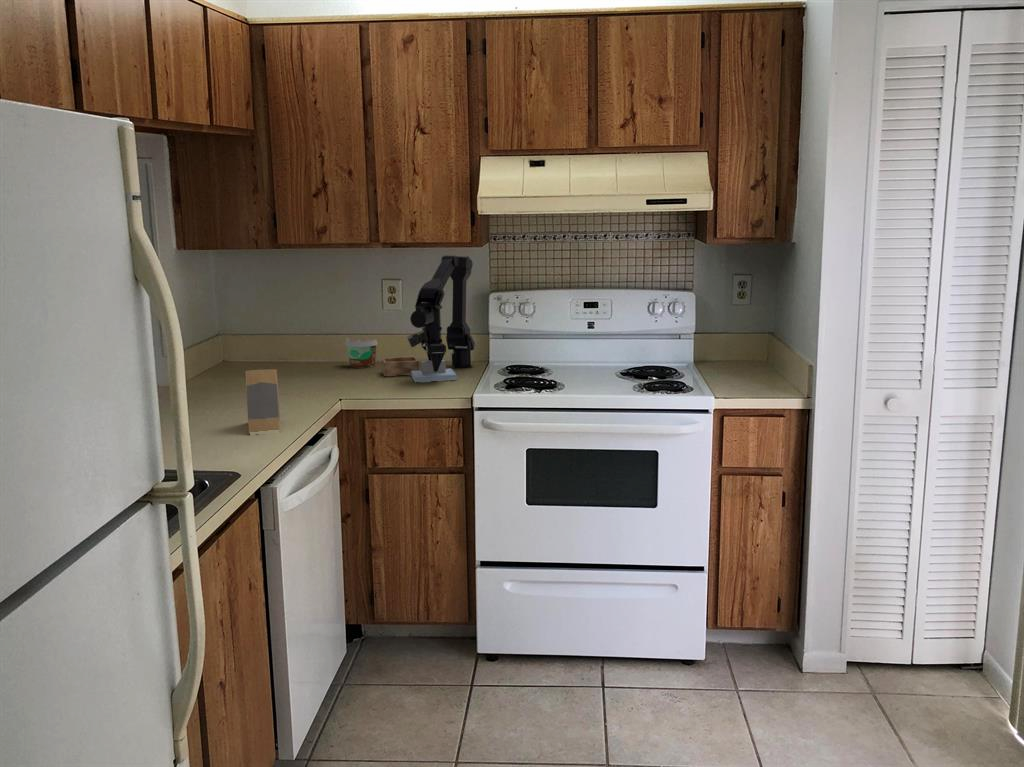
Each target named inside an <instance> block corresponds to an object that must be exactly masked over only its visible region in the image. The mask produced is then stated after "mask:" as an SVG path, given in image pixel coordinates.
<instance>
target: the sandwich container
mask: <svg viewBox="0 0 1024 767" xmlns="http://www.w3.org/2000/svg"><path fill="white" fill-rule="evenodd" d="M277 370H278V369H275V368H273V369H272V368H271V369H270V368H269V369H251V370H246V371H244V372H245V390H246V391H245V394H246V407H247V409H246V410H247V420H248V421H247V422H248V433H249V432H259V431H268V430H280V424H281V412H280V398H279V384H278V383H279V382H278V371H277ZM280 431H281V430H280Z"/></svg>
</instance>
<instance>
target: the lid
mask: <svg viewBox="0 0 1024 767" xmlns="http://www.w3.org/2000/svg"><path fill="white" fill-rule="evenodd" d="M420 369H421V370H420ZM420 369H419V370H417V371H411V375H410V377H411V376H412V377H411V379H412V378H413V379H412V380H413V381H415V382H414V383H415V384H417V383H416V382H421V383H432V382H431V381H437V382H444V381H443V380H454V381H457V380H458V378H457V377H458V376H457V372H455V371H454V370H453V369H452V368H446V360H445V359H442V361H441V364H440V366H439V369H438V371H437V372H434V369H433V364H432V361H429V360H421V361H420Z"/></svg>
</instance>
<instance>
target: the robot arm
mask: <svg viewBox="0 0 1024 767" xmlns="http://www.w3.org/2000/svg"><path fill="white" fill-rule="evenodd" d="M440 260H441V261H440V263H439V265H438V267H437V269H435V270H436V271H435V272H434V274H433V276H432V277H431V279H430V280H429V281H427V282H425V283H424V284H423V285H422V286H421V288H420V290H419V291H418V295H417V299H416V301H415V302H416V303H415V305H414V308H415V311H413V312H412V313H411V315H410V319H409V320H410V322H411V324H412V326H413V327H415V328H417V329H422V330H421V331H417V332H415V333H413V334H410V335H408V336H406V338H407V340H408V343H409V345H410V347H411V348H414V347H416V346H417V345H420V346H421V348H423V350H425V352H426V356H427V361H432V364H433V369H434V372H437V371H438V369H439V366H440V364H441V361H442V360H444V356H445V355H446V352H447V350H449V351H450V350H451V351H452V352H451V353H450V364H451V366H452V367H453V368H455V369H456V368H457V369H459V368H471V367H473V366H472V365H473V364H472V361H471V360H472V359H471V358H472V356H471V351H475V348H476V346H475V345H476V344H475V343H476V342H475V340H474V338H473V337H472V335H471V328H470V327H469V325H468V324H467V320H466V317H467V281H468V279H470V276H471V275H472V268H473V260H472V259H471V257H470V256H467V255H465V256H464V255H463V256H462V255H455V254H454V255H453V254H452V255H451V254H446V255H443V256H441V259H440ZM449 279H451V280H452V311H451V313H452V318H451V320H452V321H451V323H450V324H449V326H447V327H446V337H445V339H446V345H445V343H444V342H443V339H442V330H443V328H442V323H441V322H442V320H441V318H442V317H441V309H443V306H442V305H441V304H442V302H443V299H444V296H445V291H444V288H445V286H446V285H447V282H448V280H449Z"/></svg>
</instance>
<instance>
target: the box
mask: <svg viewBox="0 0 1024 767" xmlns="http://www.w3.org/2000/svg"><path fill="white" fill-rule="evenodd" d="M417 370H420V360H419V359H418V358H417V356H414V355H413V356H401V357H400V356H399V357H382V358H381V373H382V372H383V373H382V375H383V374H384V375H383V376H394V375H410V376H411V371H417ZM394 377H395V376H394Z"/></svg>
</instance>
